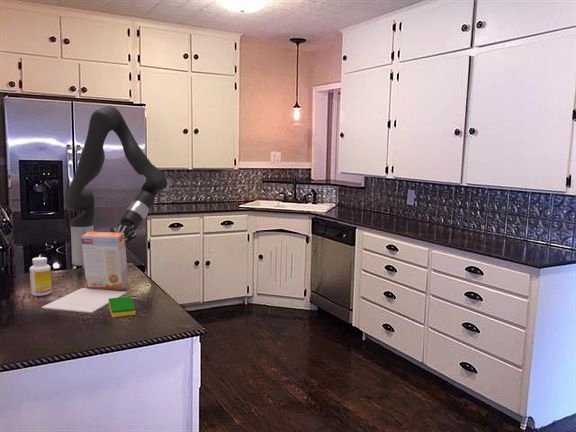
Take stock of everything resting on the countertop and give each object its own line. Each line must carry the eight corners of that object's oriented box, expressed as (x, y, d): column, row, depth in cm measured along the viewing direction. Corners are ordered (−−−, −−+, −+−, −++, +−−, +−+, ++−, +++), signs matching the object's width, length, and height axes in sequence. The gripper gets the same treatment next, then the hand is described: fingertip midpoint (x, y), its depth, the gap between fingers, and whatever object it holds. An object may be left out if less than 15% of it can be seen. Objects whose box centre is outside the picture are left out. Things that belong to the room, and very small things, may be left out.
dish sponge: (112, 318, 151) (111, 311, 150) (108, 305, 163) (108, 298, 163) (135, 316, 153) (135, 308, 153) (130, 302, 166) (130, 296, 166)
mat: (82, 289, 178) (82, 287, 178) (127, 293, 175) (126, 291, 175) (41, 308, 157) (41, 307, 157) (91, 313, 154) (91, 311, 154)
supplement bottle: (56, 292, 173) (54, 257, 171) (39, 297, 167) (38, 261, 166) (43, 289, 176) (41, 255, 174) (26, 294, 170) (24, 259, 168)
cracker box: (129, 284, 183) (125, 232, 177) (122, 291, 177) (117, 237, 171) (93, 282, 184) (88, 230, 179) (86, 289, 178) (80, 235, 173)
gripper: (117, 207, 190) (93, 243, 181) (142, 210, 183) (118, 247, 174) (128, 219, 195) (104, 254, 186) (152, 222, 189) (129, 258, 180)
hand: (111, 250), depth 180 cm, fingers closed
